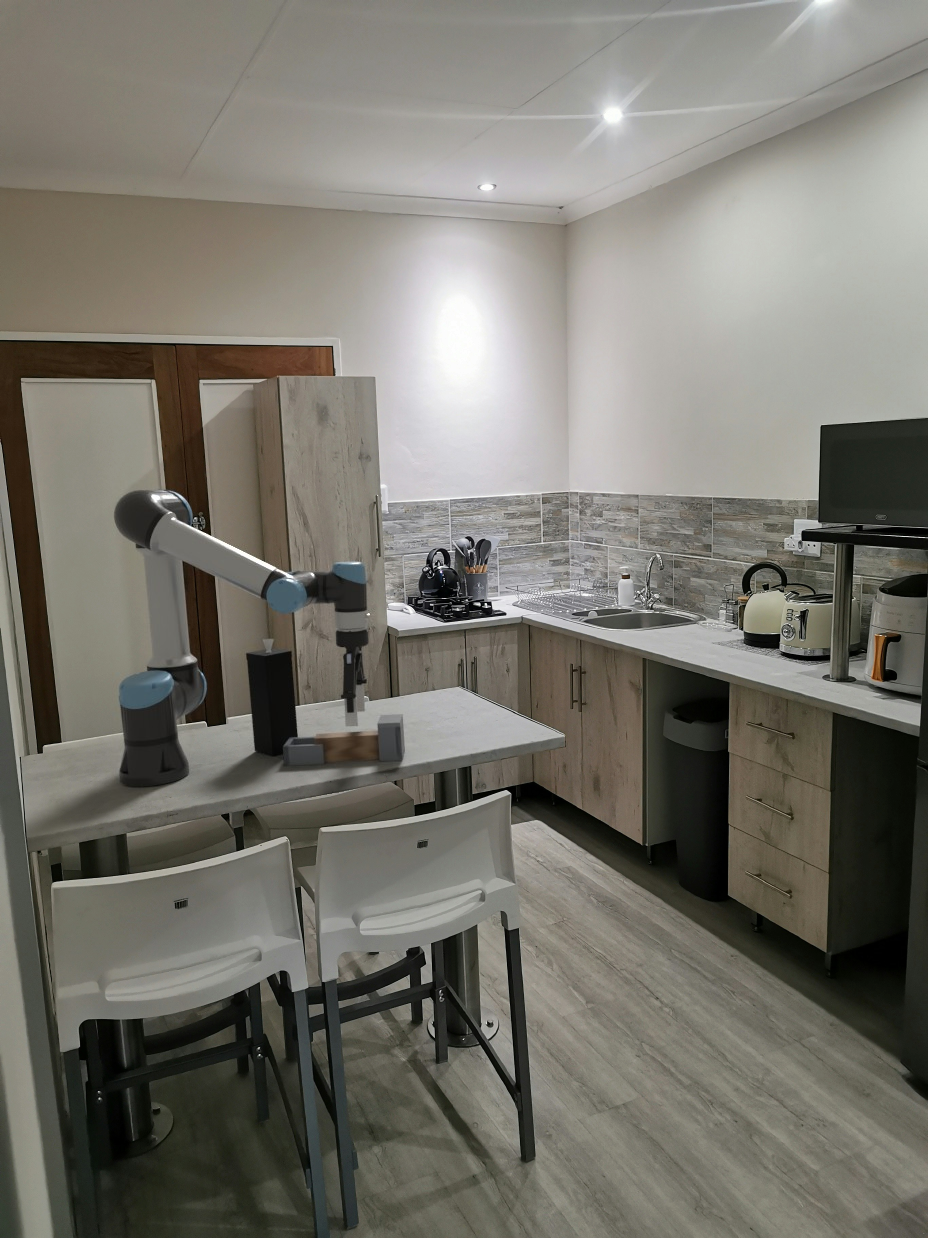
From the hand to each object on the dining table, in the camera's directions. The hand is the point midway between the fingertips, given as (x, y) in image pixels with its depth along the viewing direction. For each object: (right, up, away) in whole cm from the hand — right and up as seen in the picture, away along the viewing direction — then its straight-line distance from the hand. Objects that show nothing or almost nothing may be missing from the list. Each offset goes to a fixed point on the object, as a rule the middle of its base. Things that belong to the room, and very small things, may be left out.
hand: (355, 718), depth 216 cm
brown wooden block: (0, -10, +1) cm, 10 cm away
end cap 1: (-12, -10, +1) cm, 15 cm away
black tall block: (-21, -9, +11) cm, 25 cm away
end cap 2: (+9, -9, +1) cm, 12 cm away
